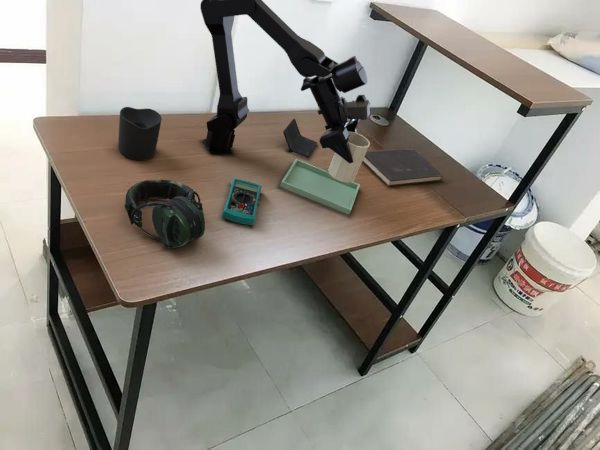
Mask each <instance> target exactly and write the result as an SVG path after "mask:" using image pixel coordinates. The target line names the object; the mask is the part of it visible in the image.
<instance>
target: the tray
mask: <svg viewBox="0 0 600 450" xmlns="http://www.w3.org/2000/svg"><path fill="white" fill-rule="evenodd" d="M279 187H280V188H281V189H282V188H283V189H285V190H287V191H289V192H292V193H294V194H297V195H300V196H302V197H304V198H307V199H309V200H312V201H314V202H317V203H319V204H322V205H324V206H326V207H329V208H331V209H333V210H335V211H339V212H341V213H343V214H346V215H348V216H349V215H350V214H351V211H352V209H353V207H354V203H355V201H356V198H357V195H358V192H359V189H360V187H361V184H360V183H357V182H355V181H353V182H349V183H347V182H341V181H339V180H337V179H335V178H333V177H332V176H331V175H330V174H329V172H328V170H325V169H323V168H321V167H317V166H315V165H313V164H310V163H308V162H306V161H303V160H300V159H299V158H295V160H294V161H293V162H292V164H291V165H290V167H289V169H288V170H287V172H286V173H285V174H284V177H283V179H282V180H281V182H280V185H279Z"/></svg>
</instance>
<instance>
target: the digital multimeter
mask: <svg viewBox="0 0 600 450" xmlns="http://www.w3.org/2000/svg"><path fill="white" fill-rule="evenodd" d="M261 191H262V186H261V184H258V183H255V182H252V181H249V180H245V179H241V178H237V177H235V178H234V177H233V178H232V180H231V184H230V189H229V193H228V196H227V200H226V202H225V205H224V207H223V211H222V215H221V217H222V218H223V219H225V220H228V221H231V222H234V223H237V224H240V225H241V224H242V225H249V226H254V225H255V221H256V215H257V208H258V202H259V197H260V194H261Z"/></svg>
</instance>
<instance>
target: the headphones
mask: <svg viewBox="0 0 600 450" xmlns="http://www.w3.org/2000/svg"><path fill="white" fill-rule="evenodd" d="M196 198H197V200H196ZM147 200H156V201H149V202H147V203H144V204H141V205H139V204H140V203H141V202H143V201H147ZM157 200H168V201H157ZM124 201H125V202H124V209H125V211H126V214H127V217H128V220H129V221H130V225H135V226H136V227H137V228H139V229H140V230H141V231H142V232H143V233H144V234H146V235H147V236H149V237H150V238H153V239H155V240H158V241H159V242H162V243H163V244H164V245H165V246H166V247H167V248H168V249H175V248H180V247H183V246H185V245H186V244H188V243H189V242H191V241H193V240H198V239H201V238H203V236H204V234H205V232H206V219H205V215H204V208H203V202H201V198H200V195H199V193H197V192H196V191H195V190H194V189H193V188H191V187H190V186H189V185H186V184H184V183H181V182H179V181H175V180H172V179H164V178H157V179H156V178H155V179H146V180H142V181H140V182H139V181H138V182H136V183H134V184H133V185H132V186H130V187H129V189H127V191H126V193H125V198H124ZM138 205H139V206H138ZM149 207H153V208H152V211H151V221H152V224H153V227H154V228H153V229H154V230H155V232H156V234H157V236H158V237H159V238H158V237H156V236H154V235H152V234H151V233H149V232H147V231H146V230H145V229H144V228H143V222H142V221H143V217H142V216H143V212H142V210H143V209H145V208H149Z"/></svg>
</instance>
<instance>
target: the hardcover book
mask: <svg viewBox="0 0 600 450" xmlns="http://www.w3.org/2000/svg"><path fill="white" fill-rule="evenodd" d="M362 164H364V165H365V166H366V168H368V169H369V170H370V171H371V172H372V173H373V174H374V175H375V176H376V177H377V179H379V180H380V181H381V182H382V183H383V184H384V185H385V186H387V187H388V188H391V187H399V186H409V185H418V184H426V183H437V182H441V181H442V180H441V178H442V177H444V174H442V173H441V172H440V171H439V170H438V169H437V168H436V167H434V166H433V165H432V163H430V162H429V161H427V160H426V159H425V157H423V156H422V155H421V154H419V153H418V152H417V151H416V150H415V149H414V148H397V149H380V150H367V152H366V154H365V157H364V159H363V161H362Z"/></svg>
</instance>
